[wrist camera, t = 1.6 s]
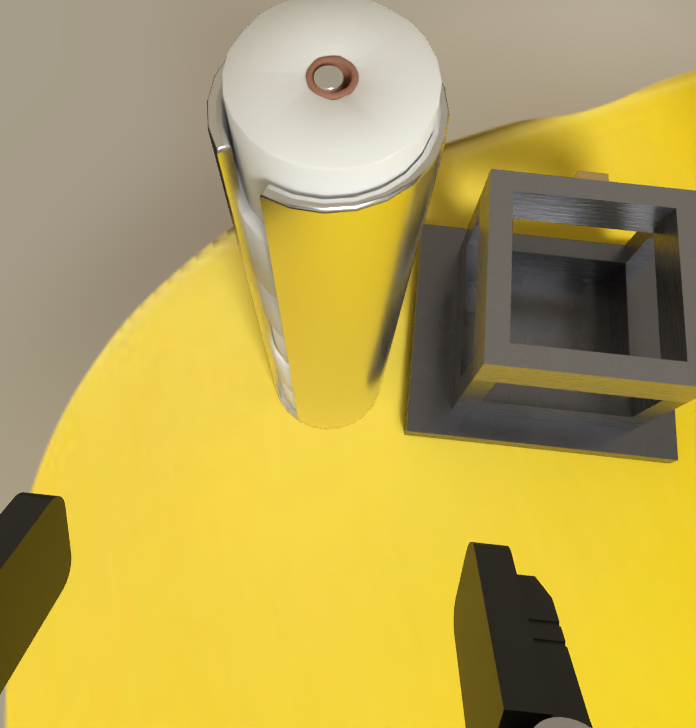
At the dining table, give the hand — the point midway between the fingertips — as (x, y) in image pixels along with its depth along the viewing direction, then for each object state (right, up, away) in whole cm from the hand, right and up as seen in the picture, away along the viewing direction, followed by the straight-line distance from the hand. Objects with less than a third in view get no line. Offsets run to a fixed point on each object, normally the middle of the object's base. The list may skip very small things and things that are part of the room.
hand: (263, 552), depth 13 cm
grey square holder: (+14, +5, +28) cm, 32 cm away
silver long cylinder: (0, +3, +27) cm, 27 cm away
